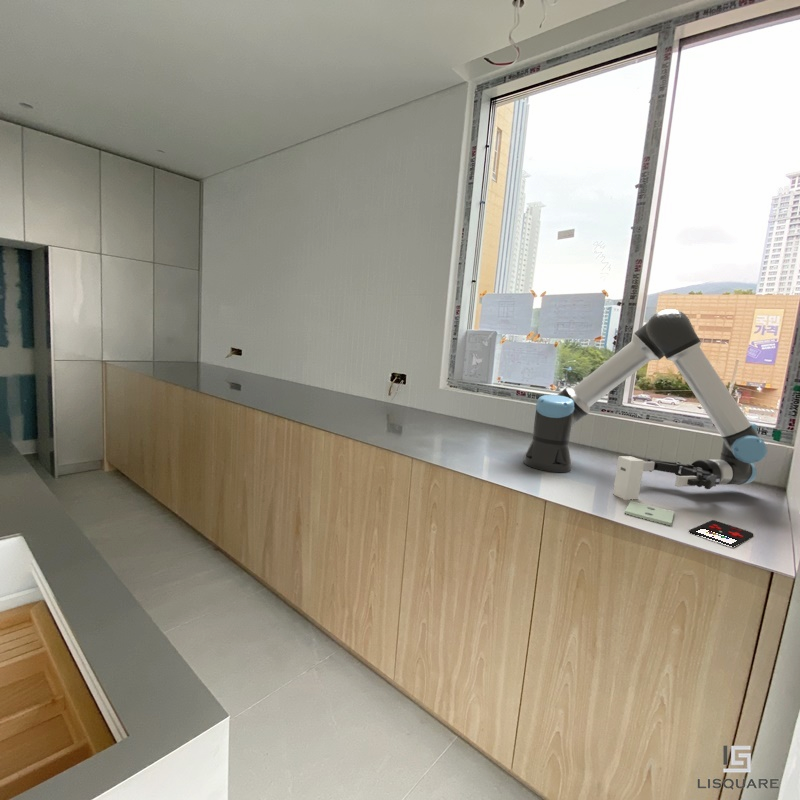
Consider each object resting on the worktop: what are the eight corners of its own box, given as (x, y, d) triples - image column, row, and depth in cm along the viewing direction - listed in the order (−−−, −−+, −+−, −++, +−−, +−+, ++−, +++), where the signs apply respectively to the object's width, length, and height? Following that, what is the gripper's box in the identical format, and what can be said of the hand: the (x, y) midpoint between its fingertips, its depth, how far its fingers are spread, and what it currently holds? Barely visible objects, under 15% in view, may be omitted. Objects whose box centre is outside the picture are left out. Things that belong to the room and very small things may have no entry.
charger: (612, 494, 126) (618, 456, 125) (625, 493, 128) (631, 456, 126) (624, 500, 122) (631, 460, 121) (638, 499, 124) (644, 460, 122)
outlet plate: (624, 513, 111) (624, 510, 111) (630, 503, 119) (630, 500, 119) (670, 526, 106) (671, 523, 106) (673, 514, 114) (674, 511, 114)
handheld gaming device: (756, 532, 105) (733, 545, 96) (754, 537, 105) (732, 550, 96) (713, 518, 112) (688, 529, 103) (712, 523, 112) (687, 534, 103)
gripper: (751, 499, 123) (694, 502, 116) (671, 471, 146) (619, 472, 140) (756, 473, 122) (699, 474, 115) (675, 449, 145) (623, 449, 138)
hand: (655, 473), depth 127 cm, fingers open, 13 cm apart
